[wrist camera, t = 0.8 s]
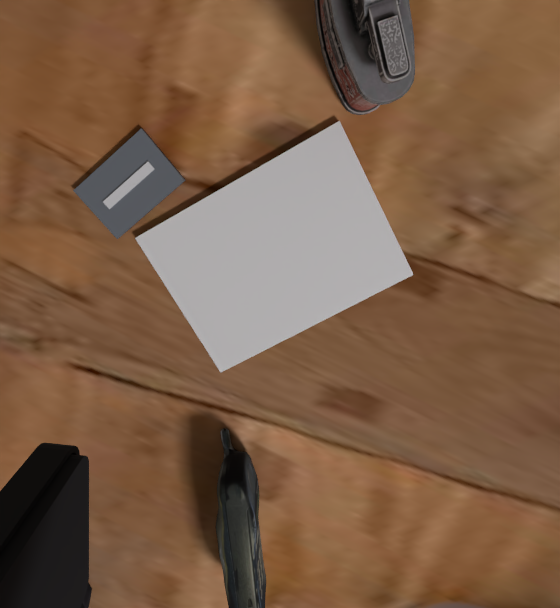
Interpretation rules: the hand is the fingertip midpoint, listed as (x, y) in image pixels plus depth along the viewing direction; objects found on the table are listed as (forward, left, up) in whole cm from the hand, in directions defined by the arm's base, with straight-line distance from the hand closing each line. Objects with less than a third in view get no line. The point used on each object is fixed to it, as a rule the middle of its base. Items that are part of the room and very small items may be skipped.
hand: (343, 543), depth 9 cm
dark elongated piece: (+14, +16, -26) cm, 33 cm away
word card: (+7, -9, -25) cm, 28 cm away
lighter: (-9, -10, -26) cm, 29 cm away
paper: (+1, -1, -25) cm, 25 cm away
